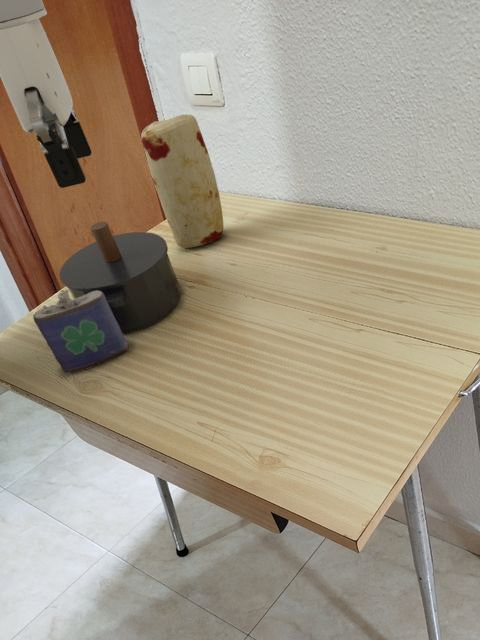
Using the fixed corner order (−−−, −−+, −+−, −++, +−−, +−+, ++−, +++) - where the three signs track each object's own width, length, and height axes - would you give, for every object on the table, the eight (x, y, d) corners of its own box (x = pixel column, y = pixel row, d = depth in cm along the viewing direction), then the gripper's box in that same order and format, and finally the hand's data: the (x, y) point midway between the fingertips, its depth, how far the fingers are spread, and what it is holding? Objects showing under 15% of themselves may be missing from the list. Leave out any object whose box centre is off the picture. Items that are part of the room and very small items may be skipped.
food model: (183, 258, 98) (139, 132, 84) (171, 244, 103) (128, 122, 89) (236, 238, 101) (202, 112, 87) (223, 225, 105) (188, 103, 91)
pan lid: (56, 306, 79) (34, 265, 75) (68, 254, 90) (49, 216, 86) (170, 278, 80) (154, 236, 75) (167, 229, 91) (154, 190, 87)
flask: (127, 342, 83) (95, 275, 75) (131, 352, 81) (98, 285, 73) (62, 366, 81) (23, 300, 73) (65, 378, 79) (24, 311, 71)
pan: (81, 355, 82) (56, 310, 77) (91, 285, 97) (71, 243, 91) (183, 329, 83) (165, 282, 78) (178, 263, 97) (163, 220, 92)
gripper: (-14, 2, 68) (55, 154, 80) (-51, 28, 55) (38, 204, 67) (50, -12, 68) (109, 141, 80) (28, 10, 56) (102, 188, 68)
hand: (77, 170), depth 74 cm, fingers open, 9 cm apart
